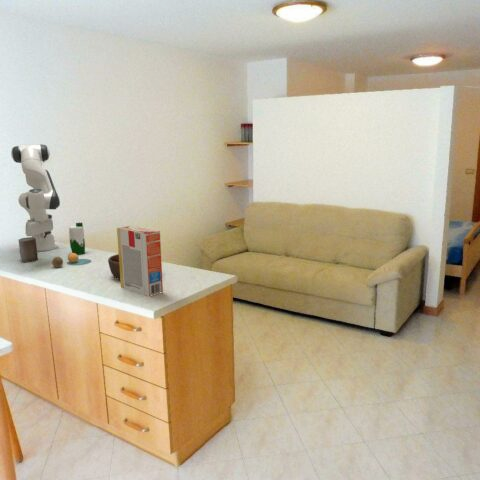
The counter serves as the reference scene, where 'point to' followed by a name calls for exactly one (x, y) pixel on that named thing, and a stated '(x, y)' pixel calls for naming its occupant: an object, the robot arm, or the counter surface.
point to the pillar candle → (28, 249)
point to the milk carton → (77, 239)
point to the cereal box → (140, 260)
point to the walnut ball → (57, 262)
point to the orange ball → (73, 258)
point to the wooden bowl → (114, 265)
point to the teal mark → (80, 262)
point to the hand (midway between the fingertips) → (40, 240)
